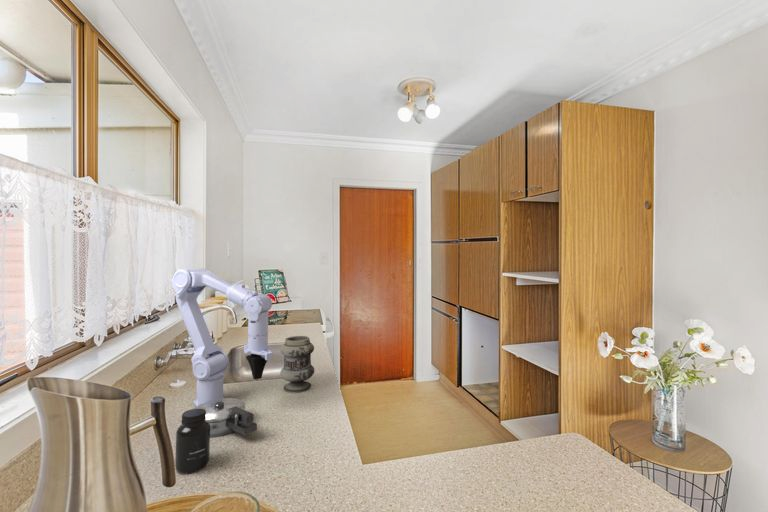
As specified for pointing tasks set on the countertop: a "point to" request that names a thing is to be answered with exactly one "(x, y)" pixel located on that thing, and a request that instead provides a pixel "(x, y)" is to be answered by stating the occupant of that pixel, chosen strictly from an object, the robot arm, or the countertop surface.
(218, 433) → the pot
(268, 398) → the countertop surface
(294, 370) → the apothecary jar
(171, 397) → the countertop surface
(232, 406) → the lid
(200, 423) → the supplement bottle
